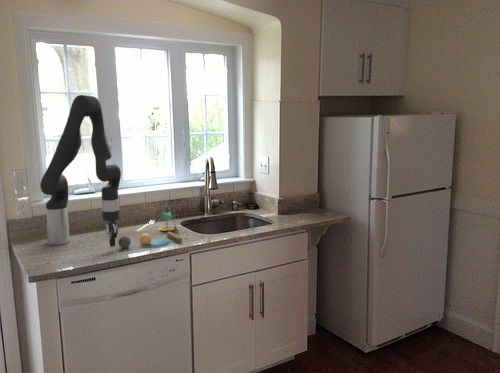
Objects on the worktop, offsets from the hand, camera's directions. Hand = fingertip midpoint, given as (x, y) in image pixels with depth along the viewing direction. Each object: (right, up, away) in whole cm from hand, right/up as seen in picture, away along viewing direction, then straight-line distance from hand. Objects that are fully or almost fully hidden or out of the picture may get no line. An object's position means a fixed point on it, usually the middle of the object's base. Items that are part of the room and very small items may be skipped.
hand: (112, 246), depth 201 cm
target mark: (+17, 0, +11) cm, 20 cm away
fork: (+5, +4, +42) cm, 42 cm away
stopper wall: (+26, +1, +16) cm, 30 cm away
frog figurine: (+19, +3, +34) cm, 39 cm away
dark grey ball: (+5, +1, +3) cm, 6 cm away
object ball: (+13, +2, +8) cm, 16 cm away
